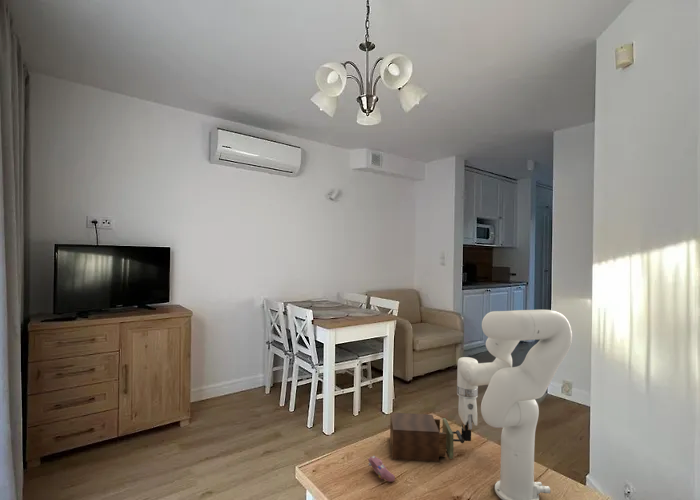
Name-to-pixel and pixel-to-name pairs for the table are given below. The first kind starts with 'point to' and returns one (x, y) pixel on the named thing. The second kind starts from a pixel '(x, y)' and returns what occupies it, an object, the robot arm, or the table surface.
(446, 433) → the drawer
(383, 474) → the pink rounded piece
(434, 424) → the cabinet
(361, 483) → the table surface
